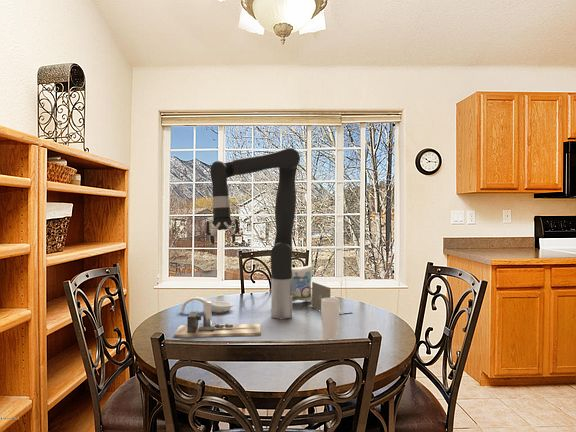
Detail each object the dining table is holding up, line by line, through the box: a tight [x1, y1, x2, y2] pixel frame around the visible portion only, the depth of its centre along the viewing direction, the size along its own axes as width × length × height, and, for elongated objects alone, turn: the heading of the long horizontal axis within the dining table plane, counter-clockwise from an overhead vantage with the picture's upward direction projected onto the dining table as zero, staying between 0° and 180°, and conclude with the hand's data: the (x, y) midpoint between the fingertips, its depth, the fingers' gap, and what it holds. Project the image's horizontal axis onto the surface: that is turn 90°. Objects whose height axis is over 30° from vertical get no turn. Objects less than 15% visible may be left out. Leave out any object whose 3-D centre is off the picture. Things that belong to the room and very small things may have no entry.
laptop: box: [311, 281, 341, 313], centre depth 188 cm, size 18×12×13 cm
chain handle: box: [198, 301, 233, 330], centre depth 153 cm, size 13×5×10 cm, turn 95°
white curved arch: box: [180, 296, 234, 314], centre depth 184 cm, size 24×12×7 cm, turn 102°
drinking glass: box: [320, 297, 341, 341], centre depth 143 cm, size 7×7×15 cm
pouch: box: [292, 263, 314, 302], centre depth 203 cm, size 8×19×20 cm, turn 114°
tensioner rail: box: [173, 310, 262, 338], centre depth 153 cm, size 32×12×7 cm, turn 95°
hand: (223, 243), depth 173 cm, fingers open, 8 cm apart
